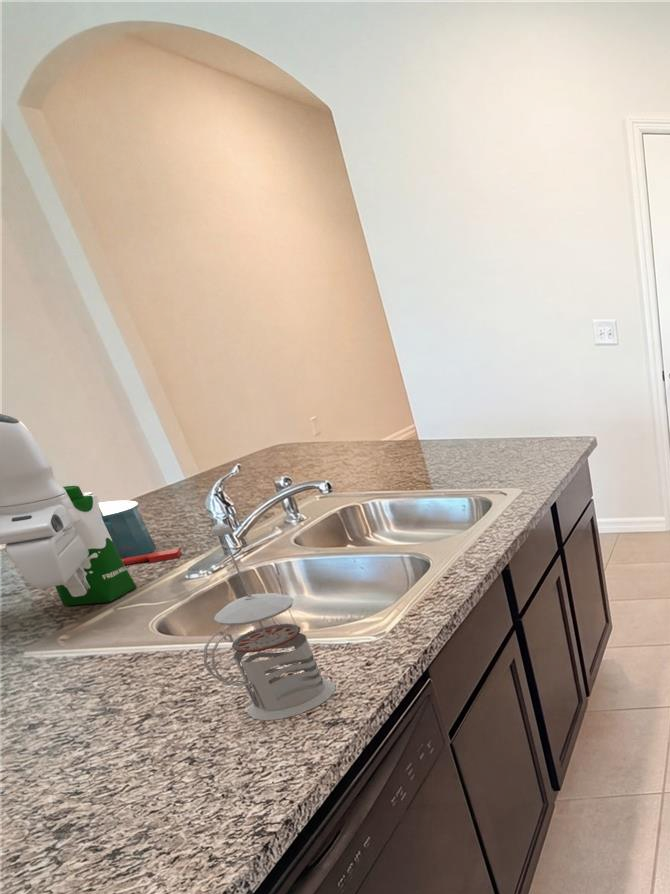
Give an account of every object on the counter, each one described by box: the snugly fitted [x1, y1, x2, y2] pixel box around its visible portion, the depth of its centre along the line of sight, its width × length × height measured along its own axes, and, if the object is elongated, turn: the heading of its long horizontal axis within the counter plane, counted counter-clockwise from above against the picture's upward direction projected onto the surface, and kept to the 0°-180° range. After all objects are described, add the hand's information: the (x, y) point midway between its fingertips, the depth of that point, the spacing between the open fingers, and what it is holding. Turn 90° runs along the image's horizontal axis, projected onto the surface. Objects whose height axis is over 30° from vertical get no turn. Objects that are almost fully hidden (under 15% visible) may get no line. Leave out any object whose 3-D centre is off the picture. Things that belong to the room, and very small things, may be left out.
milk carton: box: [54, 485, 138, 607], centre depth 115 cm, size 9×9×20 cm
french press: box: [202, 523, 336, 722], centre depth 82 cm, size 10×12×25 cm
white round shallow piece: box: [82, 492, 140, 519], centre depth 133 cm, size 14×14×5 cm
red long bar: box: [121, 547, 182, 566], centre depth 133 cm, size 16×3×1 cm, turn 125°
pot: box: [102, 508, 156, 559], centre depth 136 cm, size 13×18×10 cm
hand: (82, 593), depth 110 cm, fingers closed
